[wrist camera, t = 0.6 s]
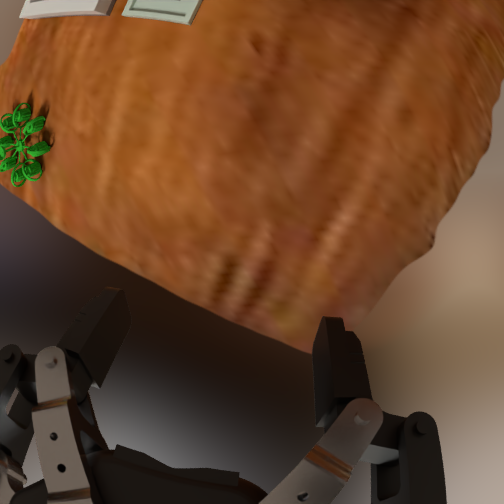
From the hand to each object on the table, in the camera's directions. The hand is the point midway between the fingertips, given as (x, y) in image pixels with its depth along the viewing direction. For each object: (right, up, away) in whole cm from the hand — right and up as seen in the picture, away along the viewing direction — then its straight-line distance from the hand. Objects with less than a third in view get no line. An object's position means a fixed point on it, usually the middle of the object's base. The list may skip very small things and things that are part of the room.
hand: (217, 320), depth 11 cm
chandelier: (-37, +22, +23) cm, 49 cm away
